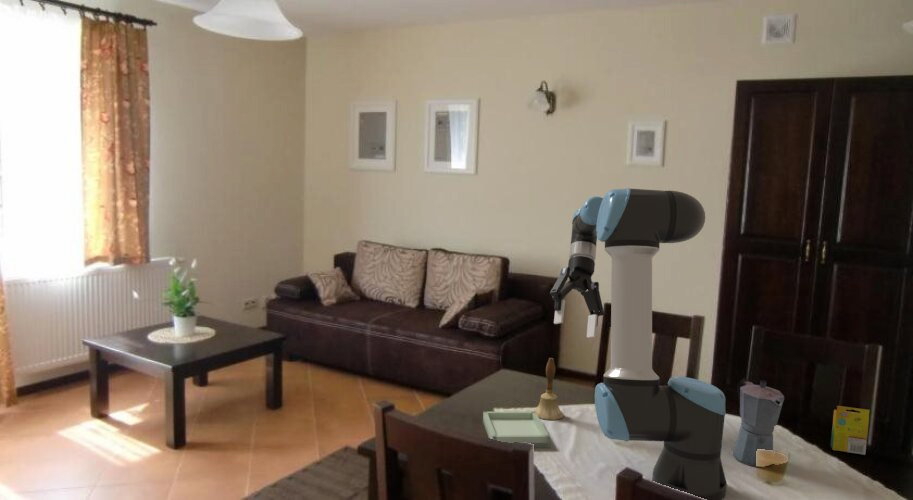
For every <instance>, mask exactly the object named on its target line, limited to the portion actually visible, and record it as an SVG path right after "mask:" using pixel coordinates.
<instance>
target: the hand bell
mask: <svg viewBox="0 0 913 500" xmlns="http://www.w3.org/2000/svg"><path fill="white" fill-rule="evenodd" d="M545 366H546V367H545V376H546V390H545V393H542V394H541V395H540V400H539V404H538V406H537V407H536V408H535V409H533V412H536V414H537V416H538V418H539V419H540V420H541V419H542V420H546V421H555V420H560V419H562V418H563V417H564V413H563V412H562V411H561V409H560V407H559V404H558V403H559V402H558V396H557V395H556V394H554V393H553V390H554V389H553V387H554V386H553V382H554V377H555V374H556V365H555V360H554V358H553V357H549V358H548V361H547V363H546V365H545Z"/></svg>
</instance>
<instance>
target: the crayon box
mask: <svg viewBox="0 0 913 500" xmlns="http://www.w3.org/2000/svg"><path fill="white" fill-rule="evenodd" d="M847 410H848V411H847ZM852 410H854V411H855V412H854V411H852ZM870 413H871V412H870V409H865V408H859V407H857V408H856V407H850V406H843V405H836V409H833V416H832V418H833V419H832V427H831V428H832V429H831V434H830V435H831V437H830V448H831V449H832V450H833V451H839V452H845V453H851V454H858V455H863V456H866V452H867V451H866V450H867V440H868V435H869V434H868V432H869V423H870Z"/></svg>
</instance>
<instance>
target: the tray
mask: <svg viewBox="0 0 913 500" xmlns="http://www.w3.org/2000/svg"><path fill="white" fill-rule="evenodd" d="M482 424H483V425H484V430H485V432H486V435H487V438H488V439H489V438H490V439H493V440H497V441H501V442H508V443H514V442H527V443H531V444H534V448H535V449H536V448H538V449H539V448H549V447H550V435H549V433H548V431H547V429H546V428H545V426H544V424H543V423H542V421H541V418H538V416H537V414H536V412H534V411H483V412H482Z"/></svg>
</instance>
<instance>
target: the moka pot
mask: <svg viewBox="0 0 913 500" xmlns="http://www.w3.org/2000/svg"><path fill="white" fill-rule="evenodd" d="M737 399H738V407H739V409H738V410H739V411H738V413H739V415H740V419H741V421H740V427H739V431H738V434H737V437H736V441H735V445H734V448H733V454H732V455H733V457H734V458H735V459H736V460H738V462H740V463H743V464H744V465H747V466H751V467H754V468H756V467H755V466H756V451H757V449H765V450H773V451H774V431H775V427H776V426H777V424H778V421H779V418H780V414H781V411H782V407H783V403H784V401H785V396H784V394H783V393H782V392H781V390H778V389H775V388H773V387H770V386H767V381H766V380H764V379H763V380H762V379H761V380H759V384H754V382H752V381H749V380H747V378H745V377H743V378H742V379H741V380H740V381H739V382H738V383H737Z"/></svg>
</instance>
